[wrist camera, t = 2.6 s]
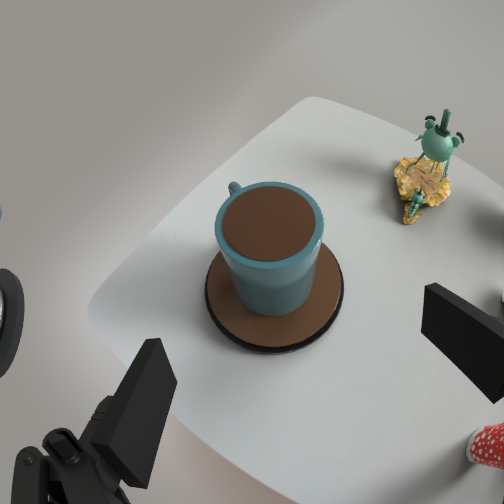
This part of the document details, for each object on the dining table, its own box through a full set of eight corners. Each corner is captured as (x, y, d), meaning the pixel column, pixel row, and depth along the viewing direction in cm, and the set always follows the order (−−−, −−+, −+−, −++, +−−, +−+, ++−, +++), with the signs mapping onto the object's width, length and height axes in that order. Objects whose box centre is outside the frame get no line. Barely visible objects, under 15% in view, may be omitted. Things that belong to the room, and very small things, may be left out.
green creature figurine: (362, 194, 36) (389, 97, 24) (414, 157, 42) (437, 86, 30) (416, 238, 31) (466, 143, 19) (456, 187, 37) (488, 118, 25)
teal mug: (364, 301, 27) (401, 246, 18) (246, 373, 25) (224, 354, 15) (293, 210, 34) (294, 139, 25) (189, 262, 32) (154, 200, 22)
